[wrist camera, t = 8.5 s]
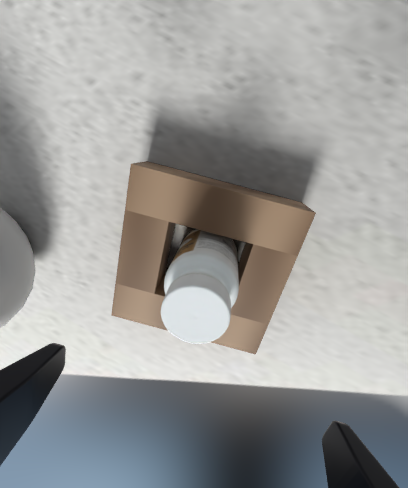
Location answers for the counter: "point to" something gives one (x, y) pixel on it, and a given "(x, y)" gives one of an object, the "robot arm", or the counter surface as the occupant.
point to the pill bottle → (201, 288)
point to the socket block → (214, 221)
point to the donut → (14, 268)
